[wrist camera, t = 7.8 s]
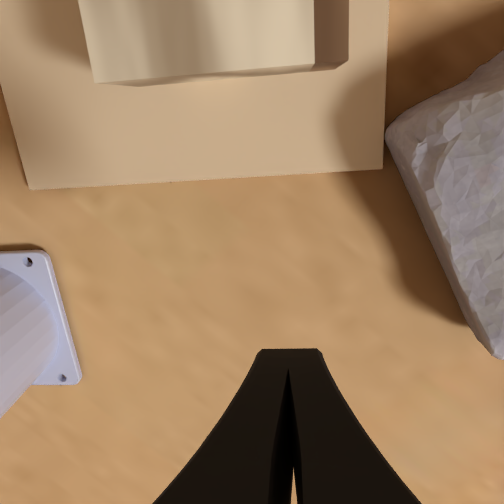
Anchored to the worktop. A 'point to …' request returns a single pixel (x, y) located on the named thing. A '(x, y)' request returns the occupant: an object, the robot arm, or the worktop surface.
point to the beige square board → (184, 110)
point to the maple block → (212, 39)
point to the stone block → (461, 190)
